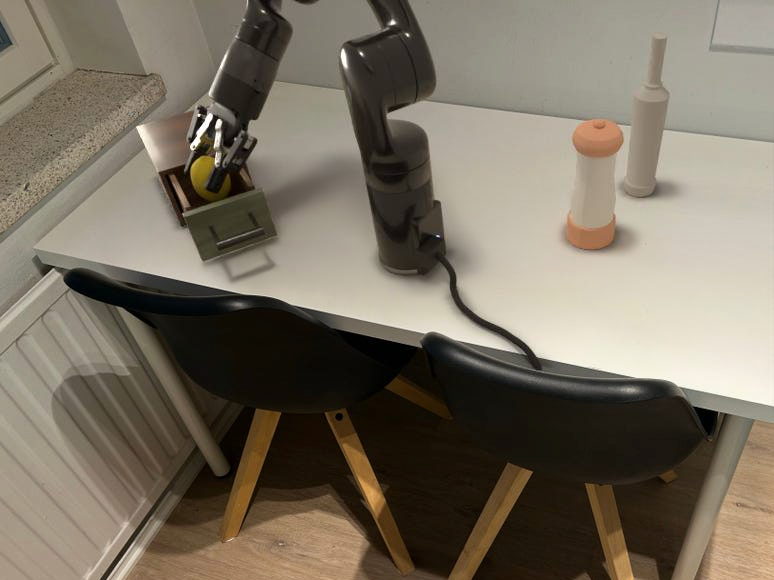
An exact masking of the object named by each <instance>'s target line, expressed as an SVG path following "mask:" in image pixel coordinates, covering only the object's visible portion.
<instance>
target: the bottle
mask: <svg viewBox="0 0 774 580" xmlns="http://www.w3.org/2000/svg"><path fill="white" fill-rule="evenodd" d="M667 41H668V34H666V33H663V32H656V33H653V34H652V36H651V44H650V53H649V54H650V55H649V62H648V70H647V76H646V80H644V82H643V84H642V85H640V86H639V87H637V88H636V89H635V90H634V92H633V104H632V114H631V124H630V134H629V143H628V145H629V146H628V155H627V167H626V174H625V176H624V179H623V189H624V191H625V193H626V194H628V195H630V196H632V197H634V198H635V197H636V198H644V197H649V196H650V195H652V194H653V192H654V191H655V188H656V185H657V178H656V176H657V169H658V165H659V159H660V158H659V157H660V152H661V146H662V141H663V136H664V129H665V125H666V120H667V119H666V118H667V113H668V108H669V103H670V102H669V101H670V97H671V96H670V95H671V94H670V91H669V90H668V89H667V88H666V87H665V86H663V85H664V83H663V81H662V75H663V66H664V59H665V51H666V49H667Z"/></svg>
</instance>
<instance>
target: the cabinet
mask: <svg viewBox="0 0 774 580" xmlns="http://www.w3.org/2000/svg"><path fill="white" fill-rule="evenodd" d="M211 105H212V104H210V105H207V106H205V107H206V108H209V107H210V106H211ZM194 112H195V109H193V110H190V111H186V112H183V113H179V114H176V115H172V116H168V117H165V118H162V119H158V120H155V121H151V122H148V123H144V124H140V125H137V126H136V129H137V130H136V131H137V132H138V135H139V136H140V139H141V141H142V144H143V146H144V148H145V150H146V153H147V155H148V158H149V160H150V163H151V164H152V167H153V170H154V172H155V174H156V176H157V178H158V180H159V183H160V185H161V187H162V189H163V191H164V193H165V195H166V198H167V200H168V202H169V204H170V206H171V208H172V210H173V212H174V214H175V216H176V218H177V221H178V223H179V225H180V226H181V227H182V226H185V225H187V224H186V221H185V219H184V217H183V214H182V213H184V211H183V209H182V207H181V205H180V202H179V200H178V198H177V195H176V193H175V190H174V188H173V186H172V183H171V181H170V178H169V176H168V174H170V173H173V172H176V171H180V170H183V169H185V167H186V164H187V162H188V159H189V157H190V155H191V152H192V150H191V144H190V143H189V142H187V135H188V132H189V128H190V125H191V122H192V118H193V115H194ZM201 122H202V121H201ZM198 130H199V129H197V131H196V134H195V137H198V135H197V132H198ZM206 144H207V143H206V142H205V145H206ZM231 148H232V147H230V148H228V149H231ZM204 156H209V157H213V158H216V151H215V150H214V147H213V149H212V150H211V151H210V152H209V154H208V155H204ZM225 156H227V155H225V154H224V157H225ZM236 158H237V159H239V157H236ZM243 169H244V170H245V172H246V174H247V175H248V177H249V178H250V180H251V181H252V182H253V179H252V177H251V174H250V170H249V168H248V164H247V162H246V163H245V164H244V166H243Z"/></svg>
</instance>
